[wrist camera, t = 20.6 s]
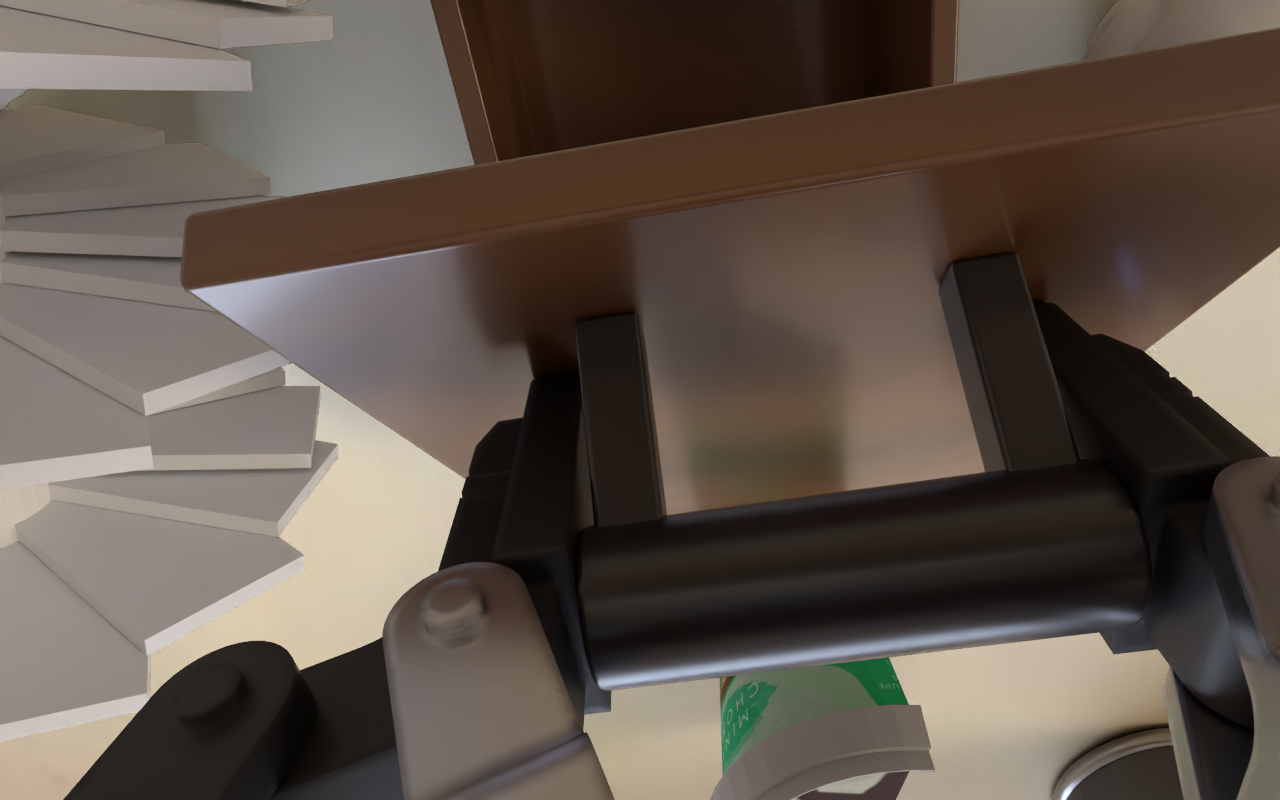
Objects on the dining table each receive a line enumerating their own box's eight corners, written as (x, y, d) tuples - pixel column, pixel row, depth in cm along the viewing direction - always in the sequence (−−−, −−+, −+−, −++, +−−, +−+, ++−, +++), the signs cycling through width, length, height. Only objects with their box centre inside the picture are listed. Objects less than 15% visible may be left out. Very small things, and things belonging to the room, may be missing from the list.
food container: (718, 533, 33) (748, 745, 25) (862, 546, 34) (940, 759, 25) (674, 724, 40) (687, 946, 31) (796, 733, 40) (841, 954, 31)
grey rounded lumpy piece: (974, 119, 25) (1084, 184, 19) (1140, -121, 22) (1334, -136, 16) (1121, 205, 26) (1266, 290, 20) (1297, -9, 23) (1530, 17, 17)
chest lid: (181, 211, 7) (134, 750, 6) (1475, -11, 7) (1803, 552, 5) (570, 526, 24) (583, 686, 23) (943, 476, 24) (983, 638, 22)
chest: (456, -120, 21) (393, -133, 16) (876, -203, 21) (969, -249, 15) (583, 415, 30) (572, 529, 25) (882, 371, 29) (942, 480, 24)
